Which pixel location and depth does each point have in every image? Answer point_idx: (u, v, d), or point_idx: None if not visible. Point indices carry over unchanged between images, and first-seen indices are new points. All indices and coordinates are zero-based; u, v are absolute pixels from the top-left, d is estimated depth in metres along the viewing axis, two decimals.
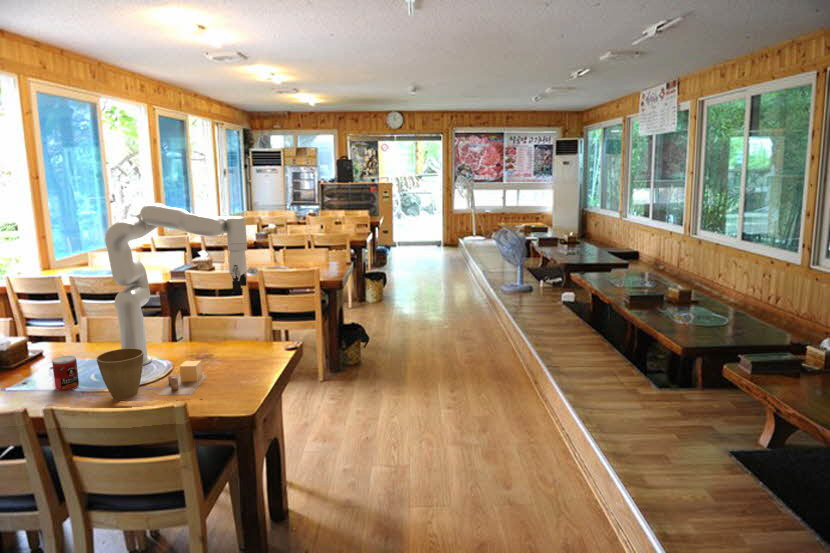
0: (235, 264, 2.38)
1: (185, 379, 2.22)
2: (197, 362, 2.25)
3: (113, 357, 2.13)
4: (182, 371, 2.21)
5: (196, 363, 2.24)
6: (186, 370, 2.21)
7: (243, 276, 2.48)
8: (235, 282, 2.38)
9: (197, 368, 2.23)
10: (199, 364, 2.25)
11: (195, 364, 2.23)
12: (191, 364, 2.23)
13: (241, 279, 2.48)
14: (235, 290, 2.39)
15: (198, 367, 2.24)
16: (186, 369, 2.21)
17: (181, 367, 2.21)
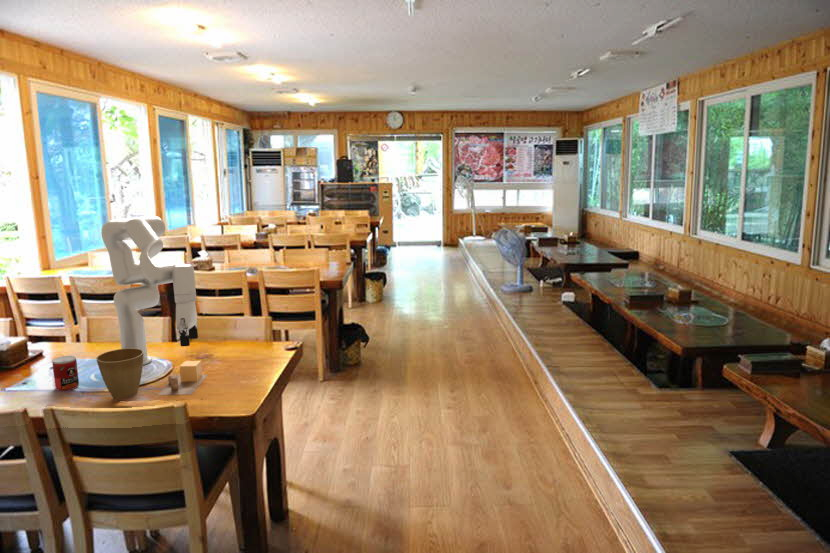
0: (182, 317, 2.15)
1: (185, 379, 2.22)
2: (197, 362, 2.25)
3: (113, 357, 2.13)
4: (182, 371, 2.21)
5: (196, 363, 2.24)
6: (186, 370, 2.21)
7: (194, 328, 2.26)
8: (183, 337, 2.15)
9: (197, 368, 2.23)
10: (199, 364, 2.25)
11: (195, 364, 2.23)
12: (191, 364, 2.23)
13: (192, 332, 2.26)
14: None
15: (198, 367, 2.24)
16: (186, 369, 2.21)
17: (181, 367, 2.21)
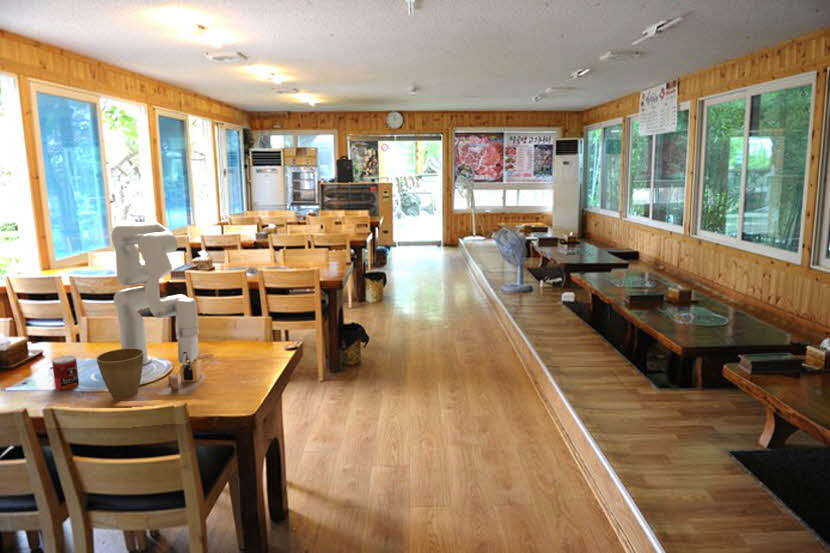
0: (184, 351, 2.18)
1: None
2: (197, 362, 2.25)
3: (113, 357, 2.13)
4: (182, 371, 2.21)
5: (196, 363, 2.24)
6: None
7: None
8: (186, 371, 2.20)
9: (197, 368, 2.23)
10: (199, 364, 2.25)
11: (195, 364, 2.23)
12: None
13: None
14: None
15: (198, 367, 2.24)
16: None
17: (181, 367, 2.21)
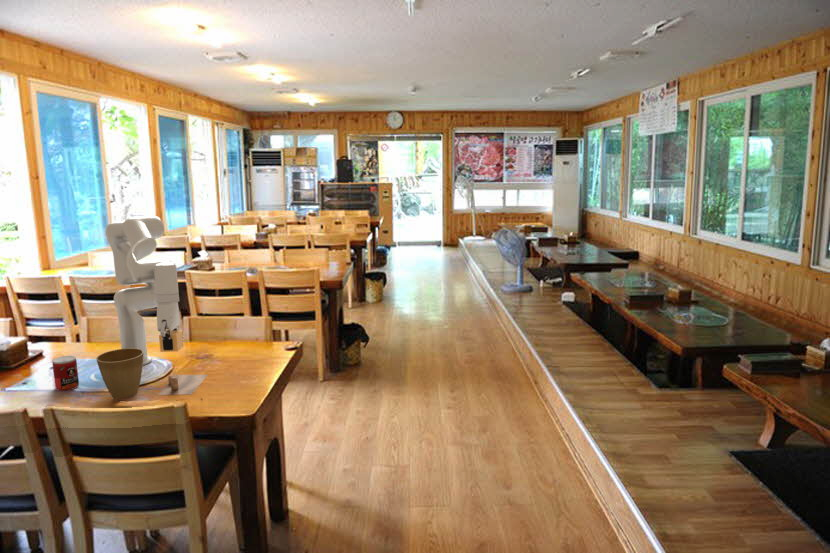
0: (164, 319, 2.04)
1: None
2: (178, 331, 2.11)
3: (113, 357, 2.13)
4: (162, 340, 2.07)
5: (177, 332, 2.10)
6: None
7: None
8: (166, 341, 2.06)
9: (178, 337, 2.09)
10: (180, 333, 2.11)
11: (176, 333, 2.09)
12: (171, 333, 2.09)
13: None
14: None
15: (179, 337, 2.10)
16: None
17: (160, 336, 2.07)
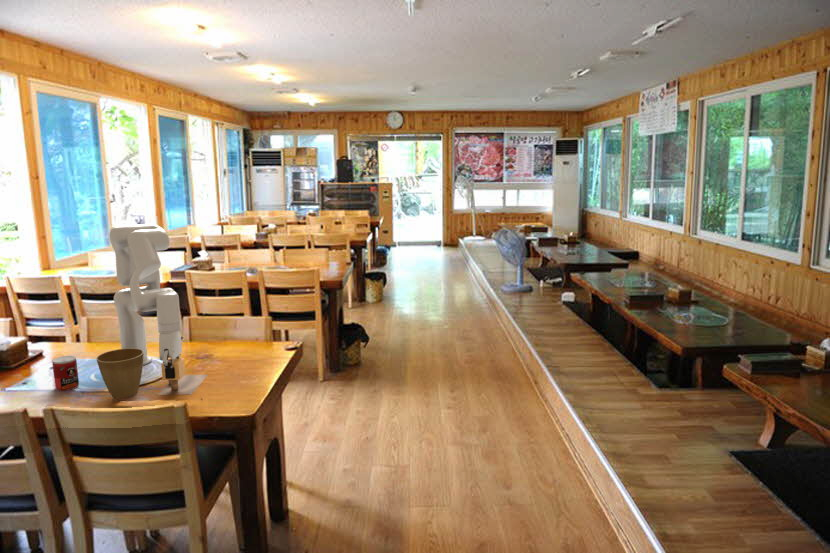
0: (166, 348, 2.06)
1: None
2: (180, 360, 2.13)
3: (113, 357, 2.13)
4: (164, 369, 2.09)
5: (179, 360, 2.12)
6: None
7: None
8: (168, 369, 2.08)
9: (180, 366, 2.11)
10: (182, 361, 2.13)
11: (178, 362, 2.11)
12: None
13: None
14: (168, 378, 2.09)
15: (181, 365, 2.12)
16: None
17: (163, 365, 2.09)
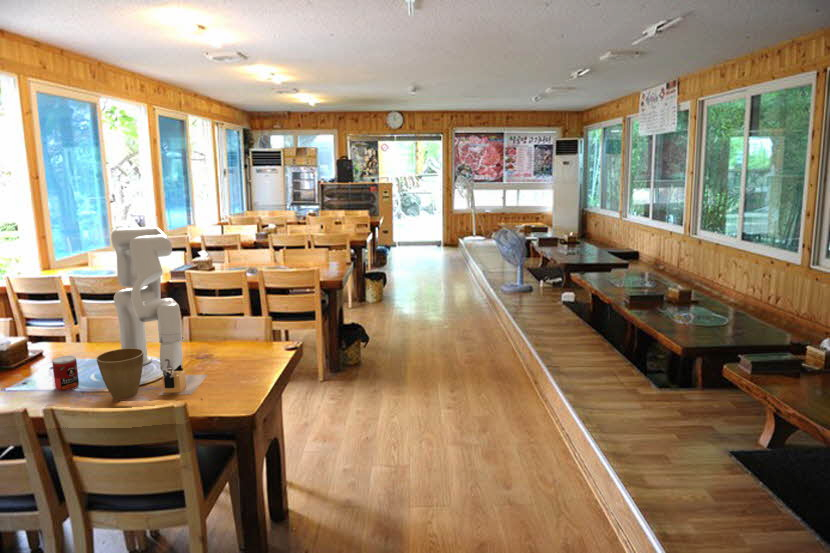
0: (167, 358, 2.07)
1: (168, 390, 2.11)
2: (181, 372, 2.14)
3: (113, 357, 2.13)
4: None
5: (179, 373, 2.13)
6: None
7: (179, 368, 2.17)
8: (167, 379, 2.07)
9: (181, 378, 2.12)
10: (183, 374, 2.14)
11: (178, 374, 2.12)
12: (174, 374, 2.12)
13: None
14: (167, 387, 2.08)
15: (182, 377, 2.13)
16: None
17: None
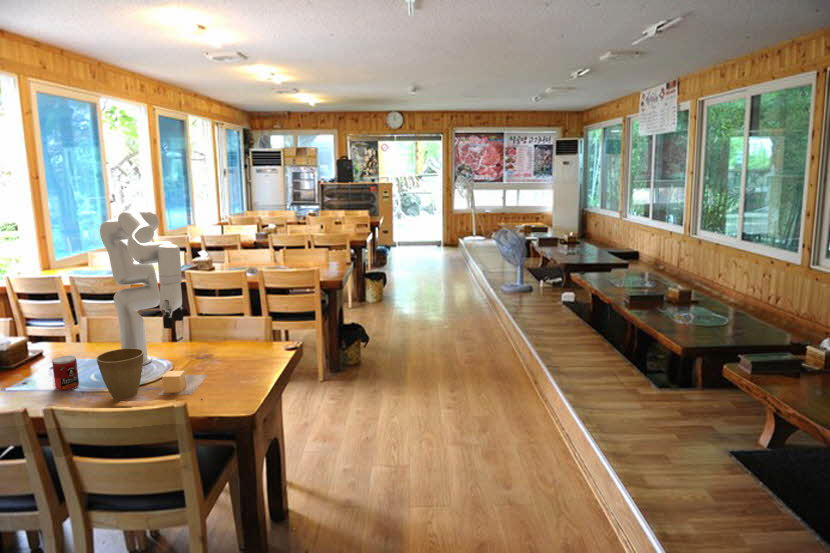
0: (166, 299, 2.10)
1: (168, 390, 2.11)
2: (181, 372, 2.14)
3: (113, 357, 2.13)
4: (165, 382, 2.10)
5: (179, 373, 2.13)
6: (169, 381, 2.10)
7: (179, 310, 2.21)
8: (166, 319, 2.11)
9: (181, 378, 2.12)
10: (183, 374, 2.14)
11: (178, 374, 2.12)
12: (174, 374, 2.12)
13: (176, 313, 2.21)
14: (166, 328, 2.12)
15: (182, 377, 2.13)
16: (169, 380, 2.10)
17: (164, 378, 2.10)
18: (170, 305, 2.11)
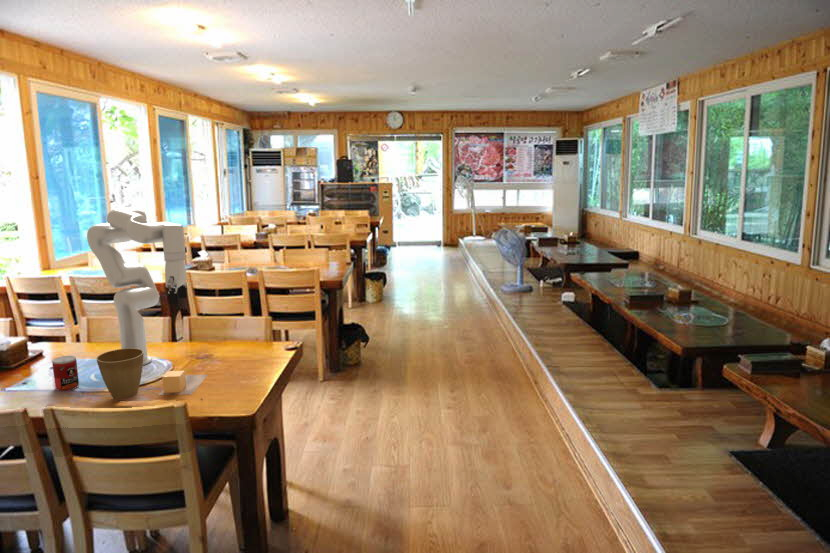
0: (171, 275, 2.19)
1: (168, 390, 2.11)
2: (181, 372, 2.14)
3: (113, 357, 2.13)
4: (165, 382, 2.10)
5: (179, 373, 2.13)
6: (169, 381, 2.10)
7: (183, 288, 2.30)
8: (171, 295, 2.20)
9: (181, 378, 2.12)
10: (183, 374, 2.14)
11: (178, 374, 2.12)
12: (174, 374, 2.12)
13: (181, 291, 2.30)
14: (172, 303, 2.21)
15: (182, 377, 2.13)
16: (169, 380, 2.10)
17: (164, 378, 2.10)
18: (175, 281, 2.20)
